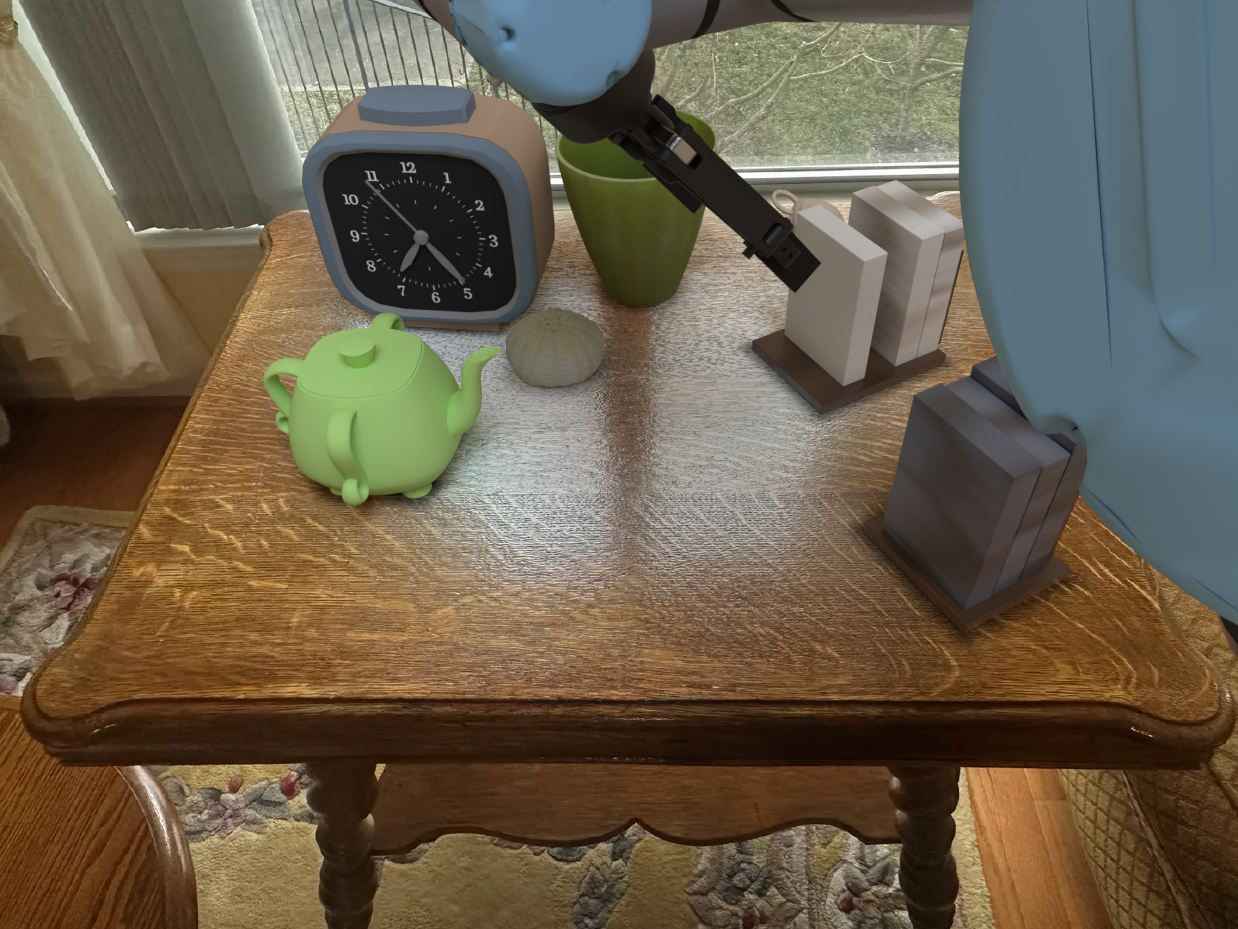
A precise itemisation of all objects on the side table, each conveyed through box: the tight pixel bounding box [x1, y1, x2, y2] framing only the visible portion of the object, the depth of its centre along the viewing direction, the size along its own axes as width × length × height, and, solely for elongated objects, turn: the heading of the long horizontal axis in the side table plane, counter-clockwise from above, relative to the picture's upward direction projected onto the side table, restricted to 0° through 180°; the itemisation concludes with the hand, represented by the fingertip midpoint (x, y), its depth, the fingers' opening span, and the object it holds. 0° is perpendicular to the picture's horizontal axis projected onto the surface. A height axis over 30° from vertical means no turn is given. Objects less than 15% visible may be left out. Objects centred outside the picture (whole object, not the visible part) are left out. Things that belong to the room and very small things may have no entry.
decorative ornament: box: [770, 189, 845, 234], centre depth 101 cm, size 4×8×5 cm, turn 58°
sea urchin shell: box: [504, 307, 606, 388], centre depth 88 cm, size 9×8×8 cm
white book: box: [784, 205, 888, 386], centre depth 82 cm, size 9×2×13 cm, turn 28°
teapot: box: [262, 313, 502, 507], centre depth 76 cm, size 16×14×13 cm
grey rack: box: [863, 355, 1087, 634], centre depth 66 cm, size 11×10×15 cm
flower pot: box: [554, 108, 719, 308], centre depth 92 cm, size 15×15×16 cm
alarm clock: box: [301, 84, 556, 332], centre depth 89 cm, size 21×10×22 cm, turn 82°
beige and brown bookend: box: [751, 179, 965, 415], centre depth 83 cm, size 11×15×14 cm
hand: (751, 235), depth 71 cm, fingers open, 13 cm apart
